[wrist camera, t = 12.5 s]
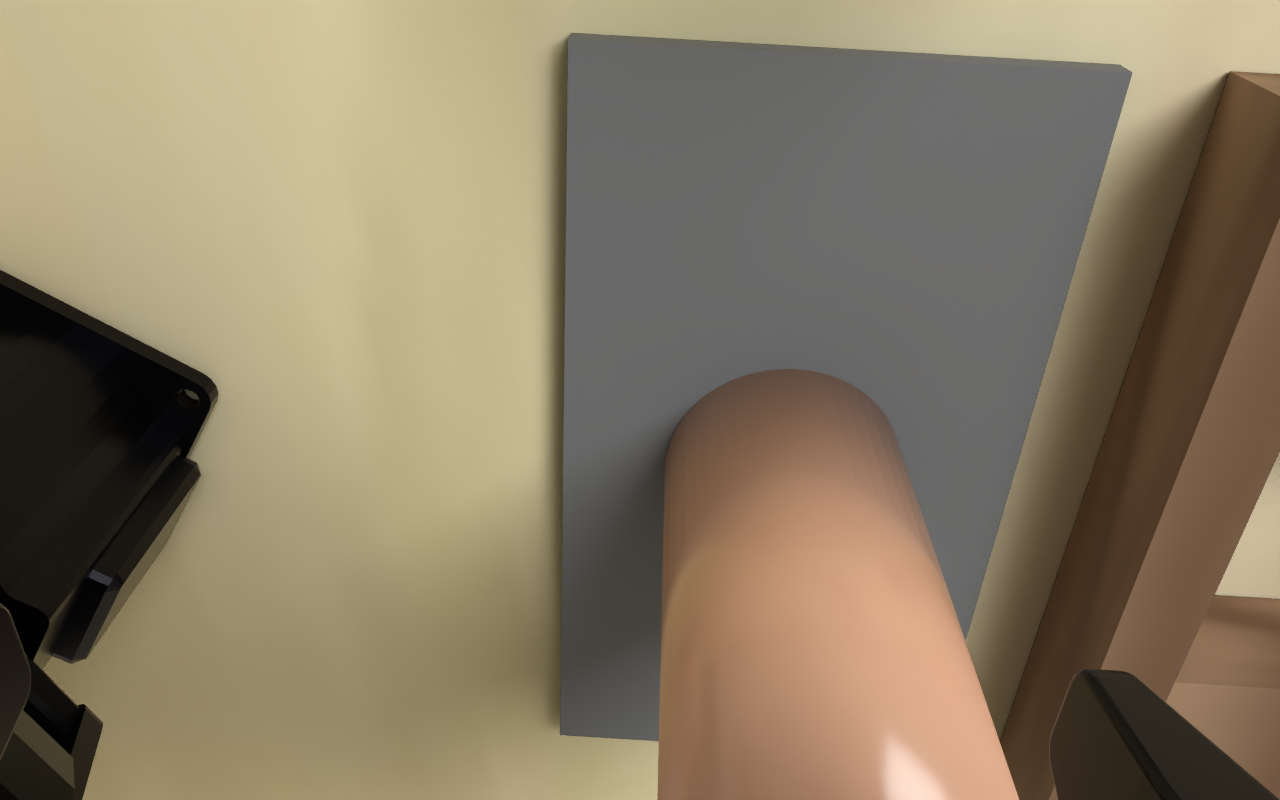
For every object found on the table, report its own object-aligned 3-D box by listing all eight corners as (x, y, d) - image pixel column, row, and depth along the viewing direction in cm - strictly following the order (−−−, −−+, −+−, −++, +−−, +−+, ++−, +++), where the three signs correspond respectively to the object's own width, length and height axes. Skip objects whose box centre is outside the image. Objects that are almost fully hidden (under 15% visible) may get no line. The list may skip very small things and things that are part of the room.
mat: (562, 717, 28) (559, 734, 27) (570, 33, 18) (567, 39, 18) (926, 739, 28) (930, 757, 27) (1119, 64, 18) (1132, 72, 18)
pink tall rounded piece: (620, 495, 23) (579, 983, 13) (755, 325, 21) (820, 771, 11) (803, 594, 24) (881, 1100, 15) (949, 444, 22) (1153, 933, 12)
